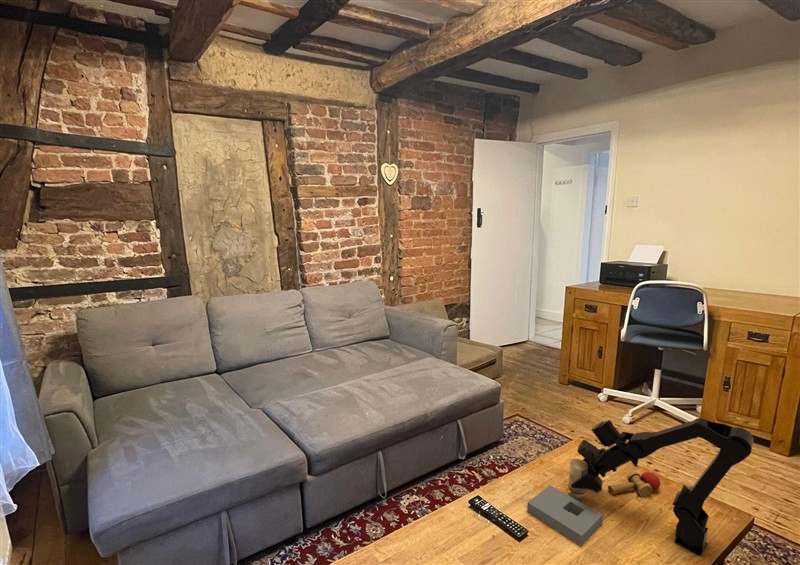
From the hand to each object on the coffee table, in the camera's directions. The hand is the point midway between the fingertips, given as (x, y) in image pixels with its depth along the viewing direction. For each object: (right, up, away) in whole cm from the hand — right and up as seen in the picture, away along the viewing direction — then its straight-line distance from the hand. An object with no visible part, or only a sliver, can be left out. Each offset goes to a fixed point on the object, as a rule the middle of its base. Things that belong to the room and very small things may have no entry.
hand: (573, 478), depth 141 cm
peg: (+1, -7, +1) cm, 7 cm away
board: (-7, -8, -9) cm, 14 cm away
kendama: (+22, -6, +3) cm, 23 cm away
